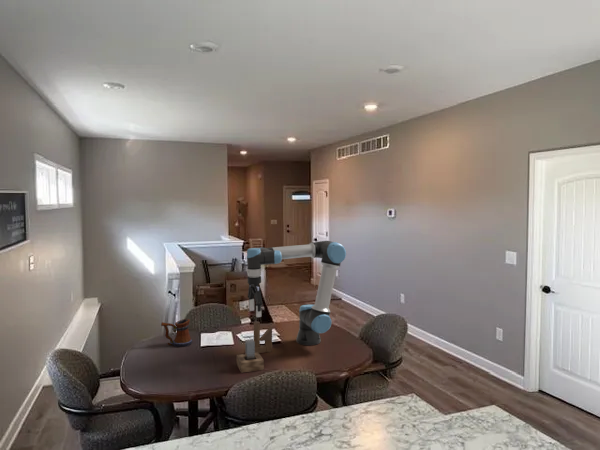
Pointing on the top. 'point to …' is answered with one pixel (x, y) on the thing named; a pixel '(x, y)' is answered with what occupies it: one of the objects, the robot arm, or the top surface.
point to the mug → (179, 333)
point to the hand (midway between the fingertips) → (255, 313)
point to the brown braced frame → (262, 339)
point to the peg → (249, 349)
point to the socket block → (250, 363)
